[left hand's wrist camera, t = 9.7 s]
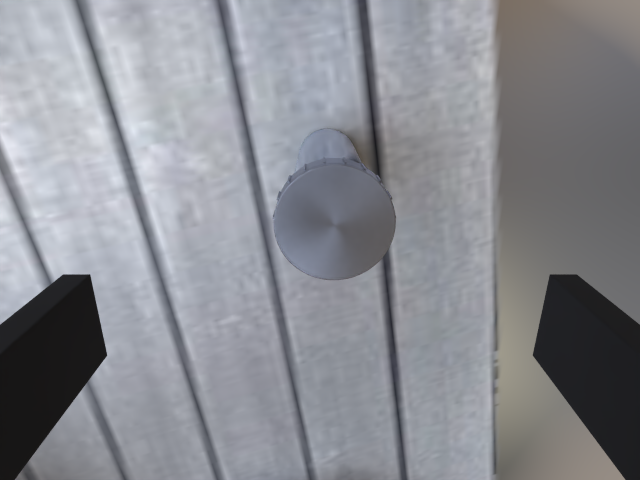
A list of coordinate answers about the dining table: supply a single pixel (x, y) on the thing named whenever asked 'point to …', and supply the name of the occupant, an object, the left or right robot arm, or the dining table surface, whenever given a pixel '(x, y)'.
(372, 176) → the lid
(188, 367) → the dining table surface
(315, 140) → the grey cylinder
